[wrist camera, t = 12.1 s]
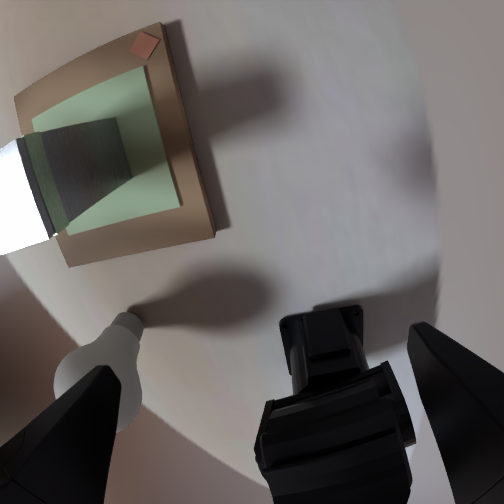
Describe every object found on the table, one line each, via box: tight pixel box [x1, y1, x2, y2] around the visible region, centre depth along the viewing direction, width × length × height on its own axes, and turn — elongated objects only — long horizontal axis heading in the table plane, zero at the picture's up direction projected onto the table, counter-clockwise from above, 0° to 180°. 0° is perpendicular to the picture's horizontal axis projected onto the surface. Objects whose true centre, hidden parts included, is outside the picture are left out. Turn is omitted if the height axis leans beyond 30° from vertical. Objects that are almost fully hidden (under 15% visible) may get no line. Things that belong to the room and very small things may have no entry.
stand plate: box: [14, 22, 217, 268], centre depth 18 cm, size 14×12×1 cm
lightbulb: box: [54, 312, 144, 432], centre depth 19 cm, size 6×6×11 cm
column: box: [0, 117, 133, 255], centre depth 13 cm, size 4×4×9 cm
